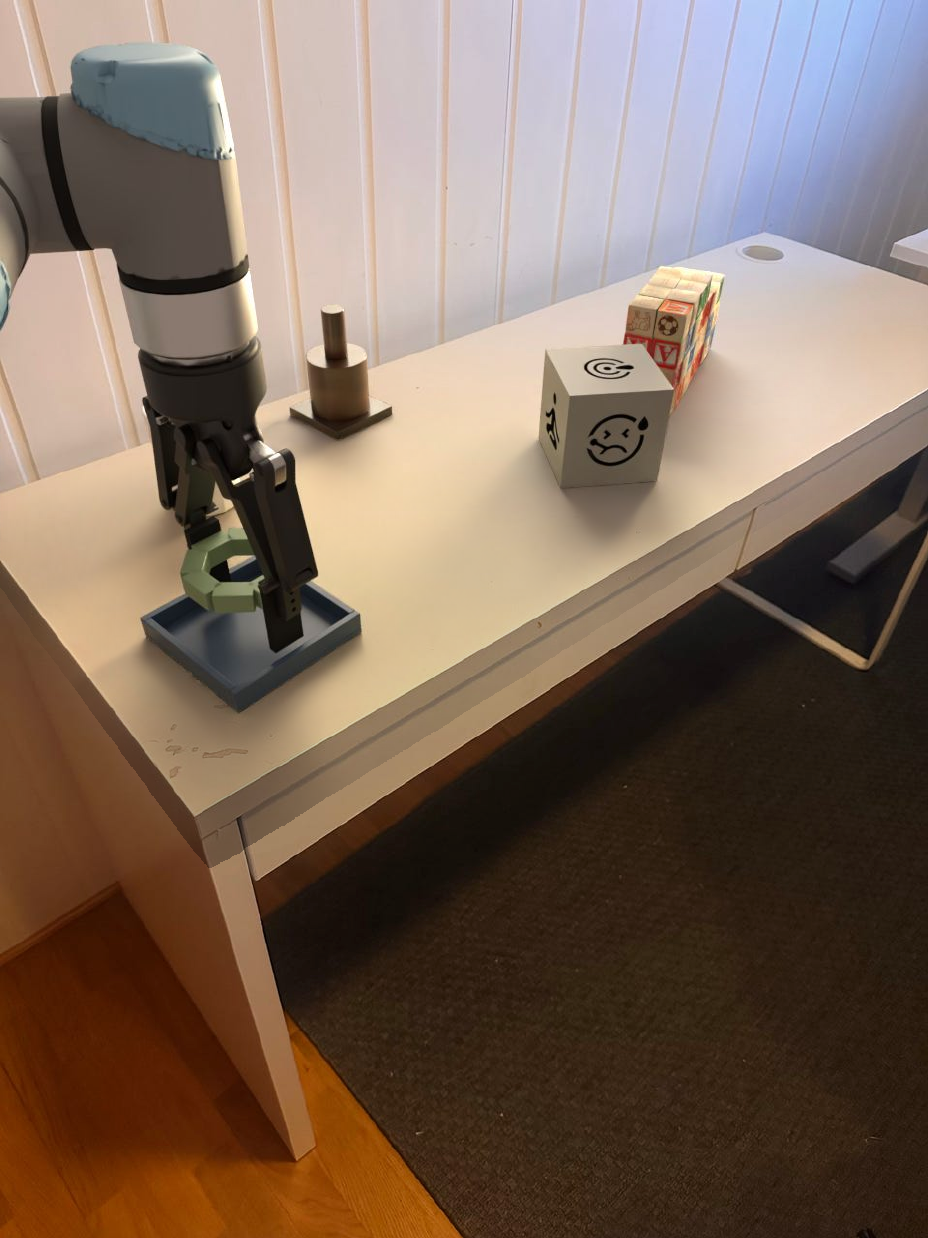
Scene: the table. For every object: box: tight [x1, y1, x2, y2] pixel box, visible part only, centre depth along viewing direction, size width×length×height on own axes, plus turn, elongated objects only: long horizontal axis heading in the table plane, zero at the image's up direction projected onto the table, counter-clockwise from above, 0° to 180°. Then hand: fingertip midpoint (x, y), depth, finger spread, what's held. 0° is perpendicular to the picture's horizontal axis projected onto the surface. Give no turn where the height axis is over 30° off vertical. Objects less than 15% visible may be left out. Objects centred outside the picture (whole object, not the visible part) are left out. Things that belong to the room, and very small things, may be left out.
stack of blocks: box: [622, 265, 726, 417], centre depth 103 cm, size 21×6×12 cm, turn 155°
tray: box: [140, 556, 363, 714], centre depth 71 cm, size 12×12×2 cm
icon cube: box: [538, 344, 674, 489], centre depth 90 cm, size 10×10×10 cm
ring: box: [179, 527, 264, 613], centre depth 67 cm, size 8×8×2 cm
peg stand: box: [289, 303, 393, 441], centre depth 95 cm, size 8×8×12 cm
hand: (250, 615), depth 70 cm, fingers closed on ring, 8 cm apart
